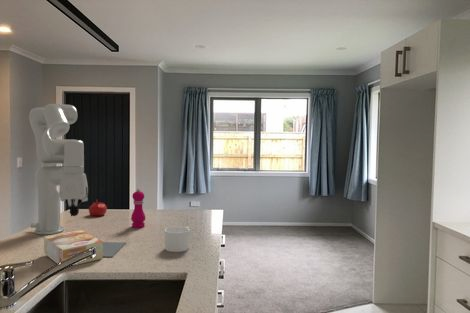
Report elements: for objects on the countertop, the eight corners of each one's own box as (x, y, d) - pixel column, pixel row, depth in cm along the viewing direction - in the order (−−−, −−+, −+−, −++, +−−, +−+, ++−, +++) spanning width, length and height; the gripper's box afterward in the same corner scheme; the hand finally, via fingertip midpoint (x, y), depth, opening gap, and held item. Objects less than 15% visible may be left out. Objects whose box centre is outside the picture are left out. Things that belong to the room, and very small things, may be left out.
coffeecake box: (82, 229, 154) (103, 240, 140) (82, 245, 154) (103, 259, 141) (43, 235, 143) (62, 249, 129) (43, 253, 144) (62, 269, 130)
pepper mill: (132, 228, 187) (132, 189, 186) (129, 225, 194) (129, 187, 193) (147, 227, 191) (147, 188, 190) (143, 224, 197) (143, 187, 196)
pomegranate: (103, 217, 212) (103, 201, 212) (85, 217, 213) (85, 201, 212) (109, 213, 222) (109, 198, 222) (92, 213, 222) (92, 198, 222)
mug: (178, 254, 148) (178, 234, 148) (159, 249, 154) (159, 230, 153) (199, 246, 160) (199, 227, 159) (180, 242, 165) (180, 224, 165)
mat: (60, 257, 142) (60, 256, 142) (79, 242, 161) (79, 242, 161) (112, 257, 143) (112, 256, 143) (126, 243, 162) (126, 242, 162)
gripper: (50, 171, 146) (51, 217, 147) (88, 171, 146) (89, 217, 147) (59, 169, 154) (60, 213, 155) (95, 170, 154) (96, 213, 155)
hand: (74, 215), depth 151 cm, fingers closed
